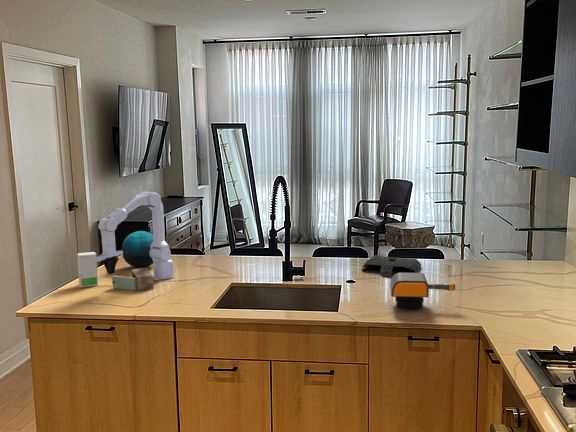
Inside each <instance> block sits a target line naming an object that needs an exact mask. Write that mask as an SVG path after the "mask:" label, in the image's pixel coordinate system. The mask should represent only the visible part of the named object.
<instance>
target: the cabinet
mask: <svg viewBox="0 0 576 432" xmlns="http://www.w3.org/2000/svg"><path fill="white" fill-rule="evenodd" d="M153 276H154V274H152V273H151V272H150V271H149V269H148V267H146V268H133V269H131V278H136V280H137V283H136V285H137V290H136V291H138V292H140V291H147V290H154V278H153Z"/></svg>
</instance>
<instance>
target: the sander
mask: <svg viewBox="0 0 576 432" xmlns="http://www.w3.org/2000/svg"><path fill="white" fill-rule="evenodd" d="M389 286H390V297H393V298H395V301H396V303H395V304H394V309H396V310H399V311H402V312H404V313H405V312H406V313H407V312H408V313H417V312H423V310H425V309H426V308H425V305H424V298H429V297H430V295H429V290H433V289H434V290H445V291H448V292H454V291H455V290H456V284H455V283H454V282H453V283H452V282H451V283H450V282H448V283H442V284H441V283H434V284H433V283H428V280H427V277H426V275H425V274H424V273H423V272H419V273H415V272H397V273H395V274H393V276H391V279H390V284H389Z"/></svg>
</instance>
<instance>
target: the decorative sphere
mask: <svg viewBox="0 0 576 432" xmlns="http://www.w3.org/2000/svg"><path fill="white" fill-rule="evenodd" d="M152 243H153V233H150V232H148V231H146V230H145V231H144V230H138V231H135V232H132V233H130V234H128V235H127V236H126V237H125V239H124V240H123V242H122V245H121V251H123V255H122V258H123V260H124V262H125V263H127V264H128V265H129V266H131V267H133V268H134V269H140V268H148V267H150V266H152V265H153V260H152V258H151V257H150V254H149V252H150V249H151V244H152Z"/></svg>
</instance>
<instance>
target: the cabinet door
mask: <svg viewBox="0 0 576 432" xmlns="http://www.w3.org/2000/svg"><path fill="white" fill-rule="evenodd" d="M111 280H112V281H111V283H112V288H115V289H120V290H121V289H122V290H127V291H138V290H137V285H136V283H137V280H136V278H132V276H131V277H129V276H122V275H120V276H119V275H111Z"/></svg>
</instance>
